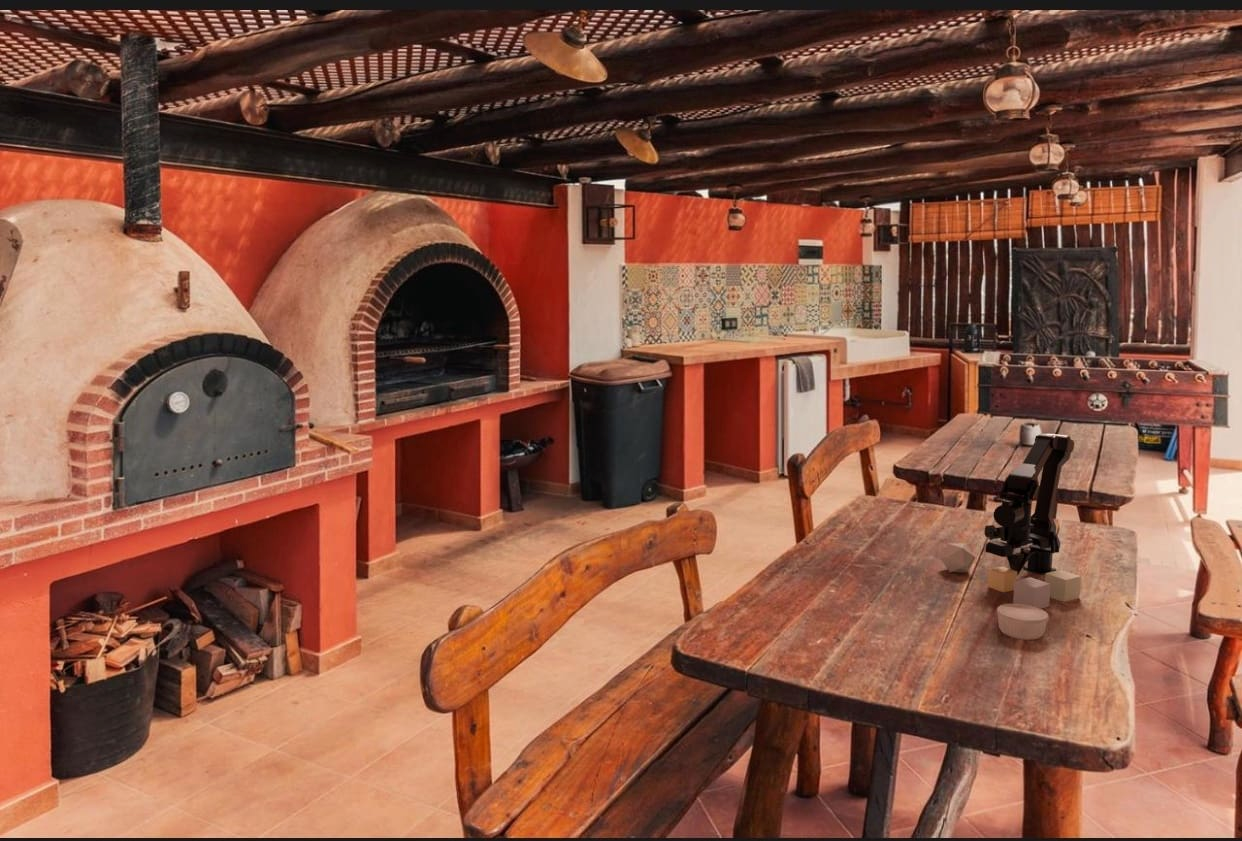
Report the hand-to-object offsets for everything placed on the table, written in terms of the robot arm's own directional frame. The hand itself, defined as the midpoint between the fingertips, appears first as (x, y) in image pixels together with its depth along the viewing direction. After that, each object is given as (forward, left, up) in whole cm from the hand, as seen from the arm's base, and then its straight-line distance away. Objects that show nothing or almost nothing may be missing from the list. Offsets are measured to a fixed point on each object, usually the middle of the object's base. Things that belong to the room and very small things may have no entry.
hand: (1015, 575), depth 246 cm
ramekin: (+27, +23, -3) cm, 35 cm away
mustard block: (+5, 0, -3) cm, 6 cm away
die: (+4, -16, -3) cm, 17 cm away
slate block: (+9, +12, -3) cm, 15 cm away
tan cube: (-3, +12, -3) cm, 13 cm away
